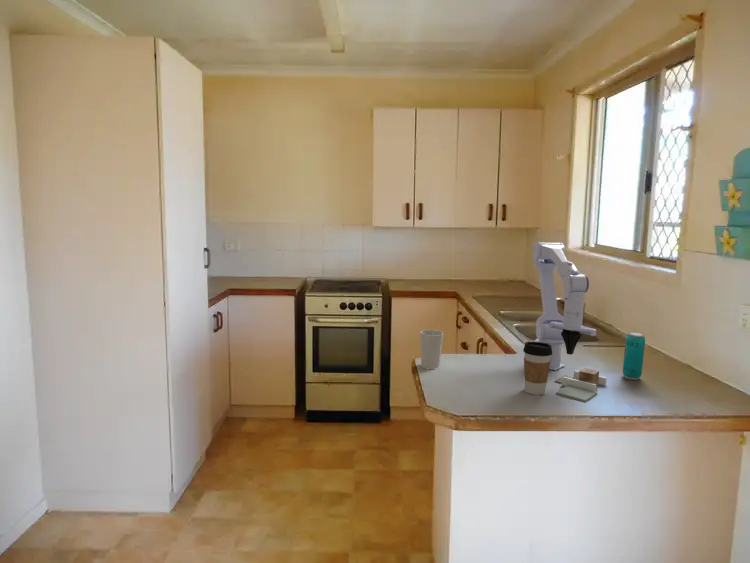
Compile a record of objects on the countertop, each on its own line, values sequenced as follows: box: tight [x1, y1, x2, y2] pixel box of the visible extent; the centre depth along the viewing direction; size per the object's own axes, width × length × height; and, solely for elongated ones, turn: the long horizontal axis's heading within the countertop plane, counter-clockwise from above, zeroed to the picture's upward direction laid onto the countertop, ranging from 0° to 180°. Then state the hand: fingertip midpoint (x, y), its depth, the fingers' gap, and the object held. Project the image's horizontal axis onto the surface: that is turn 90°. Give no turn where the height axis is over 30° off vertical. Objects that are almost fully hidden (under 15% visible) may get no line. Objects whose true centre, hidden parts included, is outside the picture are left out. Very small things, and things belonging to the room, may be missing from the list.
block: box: [578, 367, 600, 388], centre depth 170 cm, size 4×4×5 cm
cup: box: [419, 329, 444, 370], centre depth 185 cm, size 8×8×12 cm
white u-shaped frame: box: [554, 370, 607, 392], centre depth 172 cm, size 13×10×2 cm
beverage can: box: [622, 331, 646, 381], centre depth 178 cm, size 6×6×15 cm
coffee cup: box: [522, 341, 552, 396], centre depth 163 cm, size 8×8×15 cm
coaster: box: [555, 385, 598, 403], centre depth 163 cm, size 9×9×1 cm
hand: (570, 353), depth 173 cm, fingers closed
